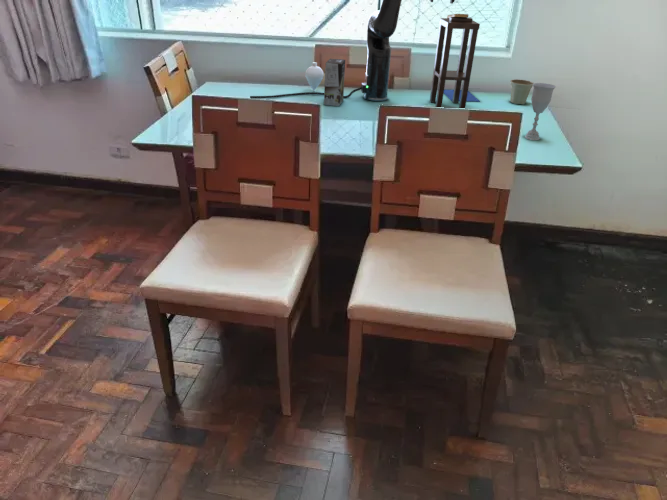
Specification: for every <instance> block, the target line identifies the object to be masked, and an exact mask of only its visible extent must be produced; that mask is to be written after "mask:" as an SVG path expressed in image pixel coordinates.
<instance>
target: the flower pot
mask: <svg viewBox="0 0 667 500" xmlns="http://www.w3.org/2000/svg"><path fill="white" fill-rule="evenodd" d="M534 83H535V82H533V81H530V80H526V79H520V78H516V79H511V80H510V86H511V88H510V98H509V102H510V103H511V104H515V105H525V104H526V103H527V100H528V98H529V95H530V92H531V90H532V88H533V84H534Z"/></svg>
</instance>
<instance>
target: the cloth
mask: <svg viewBox="0 0 667 500" xmlns="http://www.w3.org/2000/svg"><path fill="white" fill-rule="evenodd" d="M461 91H462V89H460V95H459V101H458V102H460V97H461ZM453 94H454V89H444V94H443V95H445V96H446V97H447V98H448V99H449V100H450V101H451V102H452V100H453ZM467 102H470V103H471V102H473V103H480V100H479V98H477V97H476V96H475V95H474V94H473V93H471V92H470V91H469V90H468V94H467V100H466V103H467Z"/></svg>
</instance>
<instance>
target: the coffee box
mask: <svg viewBox="0 0 667 500" xmlns="http://www.w3.org/2000/svg"><path fill="white" fill-rule="evenodd" d="M345 74H346V59H343V58H342V59H341V58H329V59H328V60H327V61H325V68H324V90H323V93H324V95H323V105H324V106H332V107H340V105H341V104H342V103H343V102H344V98H343V96H345V95H344V93H345Z"/></svg>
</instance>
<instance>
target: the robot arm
mask: <svg viewBox="0 0 667 500" xmlns="http://www.w3.org/2000/svg"><path fill="white" fill-rule="evenodd" d="M429 1H430V3H434V0H429ZM455 1H456V0H449V4H451V5H452V4H454V3H455ZM402 2H403V1H402V0H382V2H381V5H380V9H379V10H376V11H374V12H373V13H371V14H370V16H369V17H368V21H367V31H366V48H367V59H366V70H365V71H366V72H365V73H364V82H361V86H360V87H358V88H354V89H353V90H351V91H350V92H349V93H348V95H343V99H347V98H350V97H351V96H352V95H353V94H354V93H355V92H358V91H360V92H361V93H362V94H363V98H364V100H365V101H371V102H385V101H386V100H387V101H388V91H389V90H388V89H389V80H390V79H389V78H390V68H391V60H392V59H391V58H392V57H391V56H392V48H391V44H390V37H392V36H393V35H394V33H395V32H396V29H397V25H398V22H399V16H400V10H401V5H402ZM307 95H309V96H311V95H313V96H314V95H315V96H324V92H315V91H314V92H313V91H311V92H310V91H309V92H308V91H307V92H306V91H305V92H294V93H283V94H275V95H249V98H250V99H274V98H284V97H293V96H307Z"/></svg>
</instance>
